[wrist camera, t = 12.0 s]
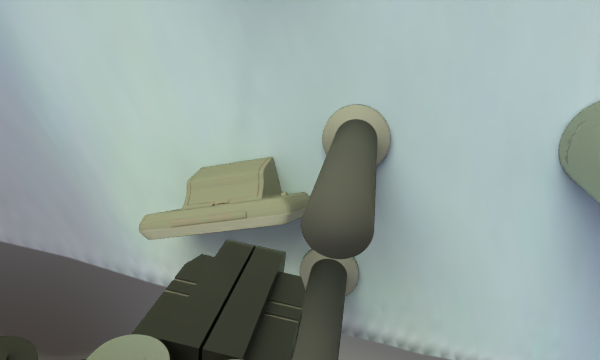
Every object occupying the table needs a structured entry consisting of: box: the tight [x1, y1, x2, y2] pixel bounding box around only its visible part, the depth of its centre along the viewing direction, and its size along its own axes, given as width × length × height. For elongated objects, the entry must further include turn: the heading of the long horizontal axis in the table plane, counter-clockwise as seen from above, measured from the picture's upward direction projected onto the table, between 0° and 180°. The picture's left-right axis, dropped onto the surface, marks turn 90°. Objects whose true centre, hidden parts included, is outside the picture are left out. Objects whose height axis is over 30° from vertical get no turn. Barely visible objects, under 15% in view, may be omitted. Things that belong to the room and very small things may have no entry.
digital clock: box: [139, 157, 310, 240], centre depth 45 cm, size 16×9×11 cm, turn 91°
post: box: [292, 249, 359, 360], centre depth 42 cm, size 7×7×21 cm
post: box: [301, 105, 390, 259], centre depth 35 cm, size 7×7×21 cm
